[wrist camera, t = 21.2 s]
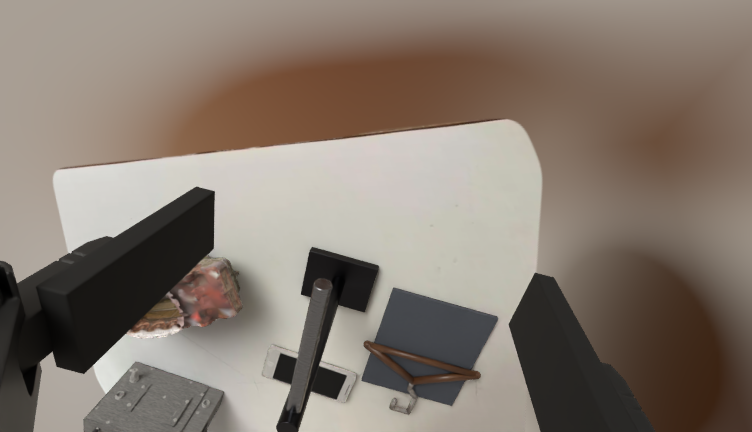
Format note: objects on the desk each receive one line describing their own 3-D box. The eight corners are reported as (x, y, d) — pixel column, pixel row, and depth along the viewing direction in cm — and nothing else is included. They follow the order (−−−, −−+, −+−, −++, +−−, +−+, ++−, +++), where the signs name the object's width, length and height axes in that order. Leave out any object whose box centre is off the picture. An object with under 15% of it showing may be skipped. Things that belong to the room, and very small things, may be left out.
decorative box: (118, 225, 54) (60, 259, 45) (244, 220, 51) (208, 256, 42) (148, 296, 59) (102, 340, 51) (264, 296, 57) (235, 341, 48)
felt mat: (497, 316, 53) (498, 319, 53) (451, 402, 62) (451, 405, 62) (393, 287, 53) (393, 289, 53) (361, 377, 62) (361, 380, 61)
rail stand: (365, 307, 55) (332, 469, 34) (302, 289, 55) (229, 441, 34) (401, 194, 47) (385, 316, 26) (327, 173, 47) (249, 278, 25)
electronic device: (134, 375, 68) (32, 492, 50) (136, 351, 65) (28, 466, 47) (222, 404, 69) (153, 530, 51) (228, 382, 66) (156, 507, 48)
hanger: (482, 376, 56) (452, 429, 62) (481, 370, 57) (452, 422, 63) (364, 343, 56) (345, 399, 62) (365, 337, 57) (346, 393, 63)
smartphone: (270, 344, 61) (268, 348, 60) (357, 373, 61) (356, 377, 61) (262, 371, 64) (260, 376, 63) (345, 399, 64) (344, 403, 64)
